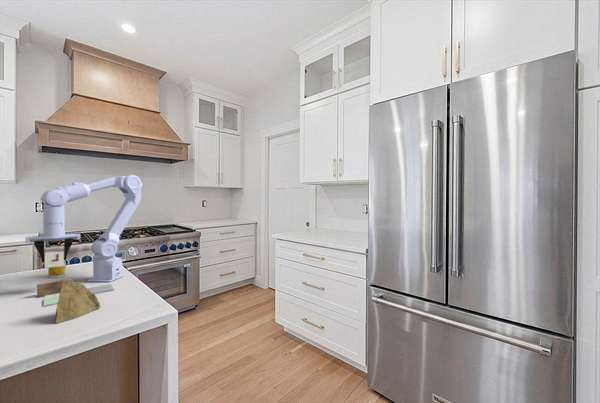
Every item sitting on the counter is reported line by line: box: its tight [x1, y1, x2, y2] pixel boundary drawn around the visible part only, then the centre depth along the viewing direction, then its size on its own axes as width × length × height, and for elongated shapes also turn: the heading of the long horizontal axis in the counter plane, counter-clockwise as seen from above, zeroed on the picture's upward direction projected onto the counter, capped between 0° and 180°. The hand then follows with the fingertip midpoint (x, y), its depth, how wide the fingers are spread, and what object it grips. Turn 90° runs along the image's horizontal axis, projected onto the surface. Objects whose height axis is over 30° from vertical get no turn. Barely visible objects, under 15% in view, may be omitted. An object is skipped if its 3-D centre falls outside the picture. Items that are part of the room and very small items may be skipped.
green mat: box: [43, 295, 59, 307], centre depth 88 cm, size 7×7×1 cm
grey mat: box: [86, 283, 114, 295], centre depth 98 cm, size 7×7×1 cm
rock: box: [54, 280, 101, 325], centre depth 78 cm, size 11×9×10 cm
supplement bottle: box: [48, 259, 67, 279], centre depth 113 cm, size 5×5×10 cm
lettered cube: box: [44, 249, 64, 269], centre depth 97 cm, size 5×5×5 cm
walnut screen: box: [36, 278, 73, 298], centre depth 94 cm, size 9×3×4 cm, turn 132°
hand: (54, 260), depth 97 cm, fingers closed on lettered cube, 5 cm apart
